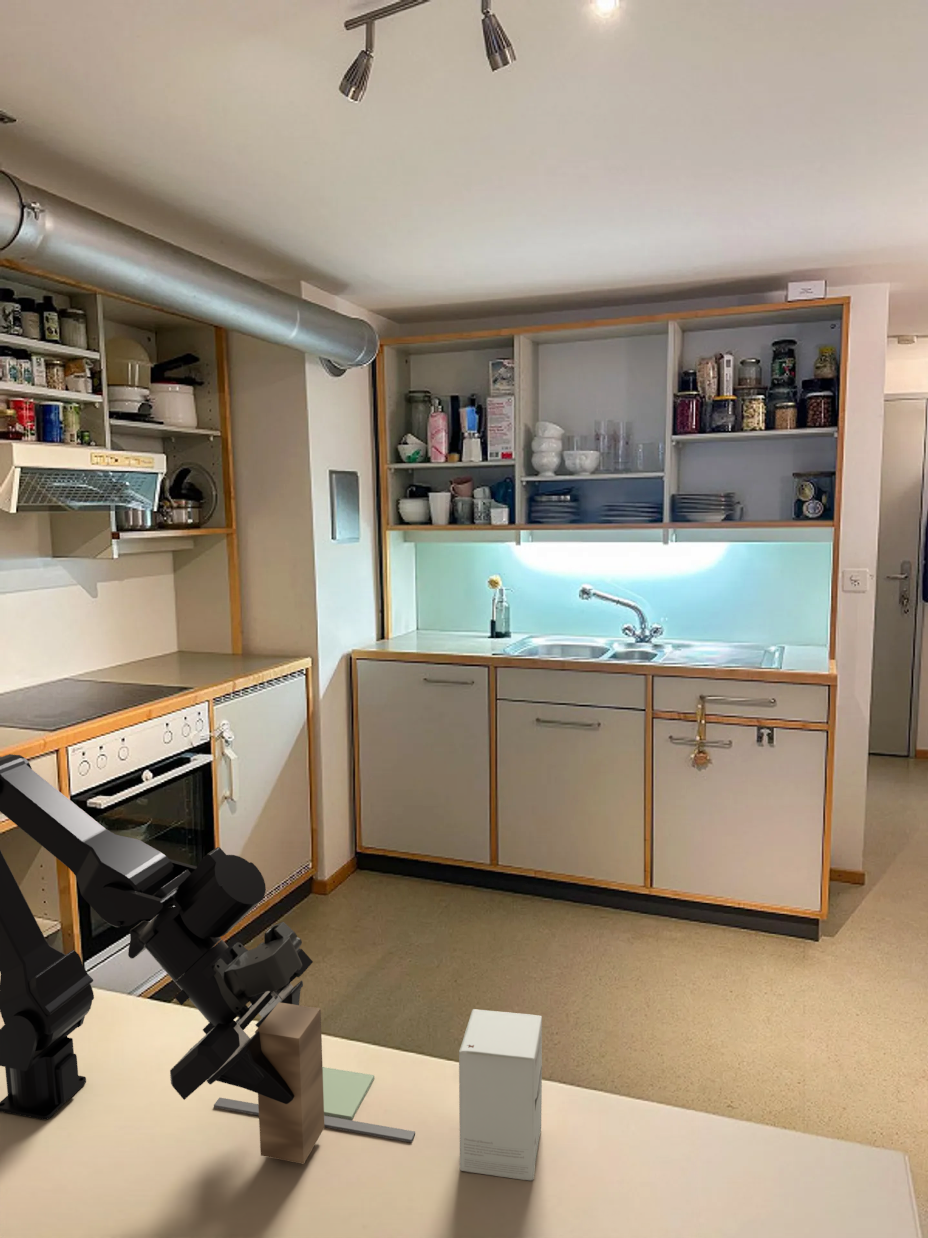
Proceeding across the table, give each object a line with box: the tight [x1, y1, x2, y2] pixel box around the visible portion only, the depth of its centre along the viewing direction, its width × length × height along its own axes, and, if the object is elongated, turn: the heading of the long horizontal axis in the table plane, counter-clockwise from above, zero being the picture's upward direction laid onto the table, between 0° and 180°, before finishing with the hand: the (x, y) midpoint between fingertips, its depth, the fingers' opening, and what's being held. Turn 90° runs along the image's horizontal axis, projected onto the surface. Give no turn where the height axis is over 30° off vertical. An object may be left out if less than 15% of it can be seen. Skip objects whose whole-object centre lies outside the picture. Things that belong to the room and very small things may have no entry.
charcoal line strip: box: [213, 1097, 416, 1143], centre depth 92 cm, size 22×1×1 cm, turn 76°
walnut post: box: [254, 1002, 326, 1165], centre depth 87 cm, size 4×5×13 cm
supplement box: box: [458, 1008, 543, 1181], centre depth 87 cm, size 7×7×13 cm
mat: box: [322, 1066, 375, 1121], centre depth 96 cm, size 10×7×1 cm
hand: (303, 1082), depth 86 cm, fingers closed on walnut post, 5 cm apart
